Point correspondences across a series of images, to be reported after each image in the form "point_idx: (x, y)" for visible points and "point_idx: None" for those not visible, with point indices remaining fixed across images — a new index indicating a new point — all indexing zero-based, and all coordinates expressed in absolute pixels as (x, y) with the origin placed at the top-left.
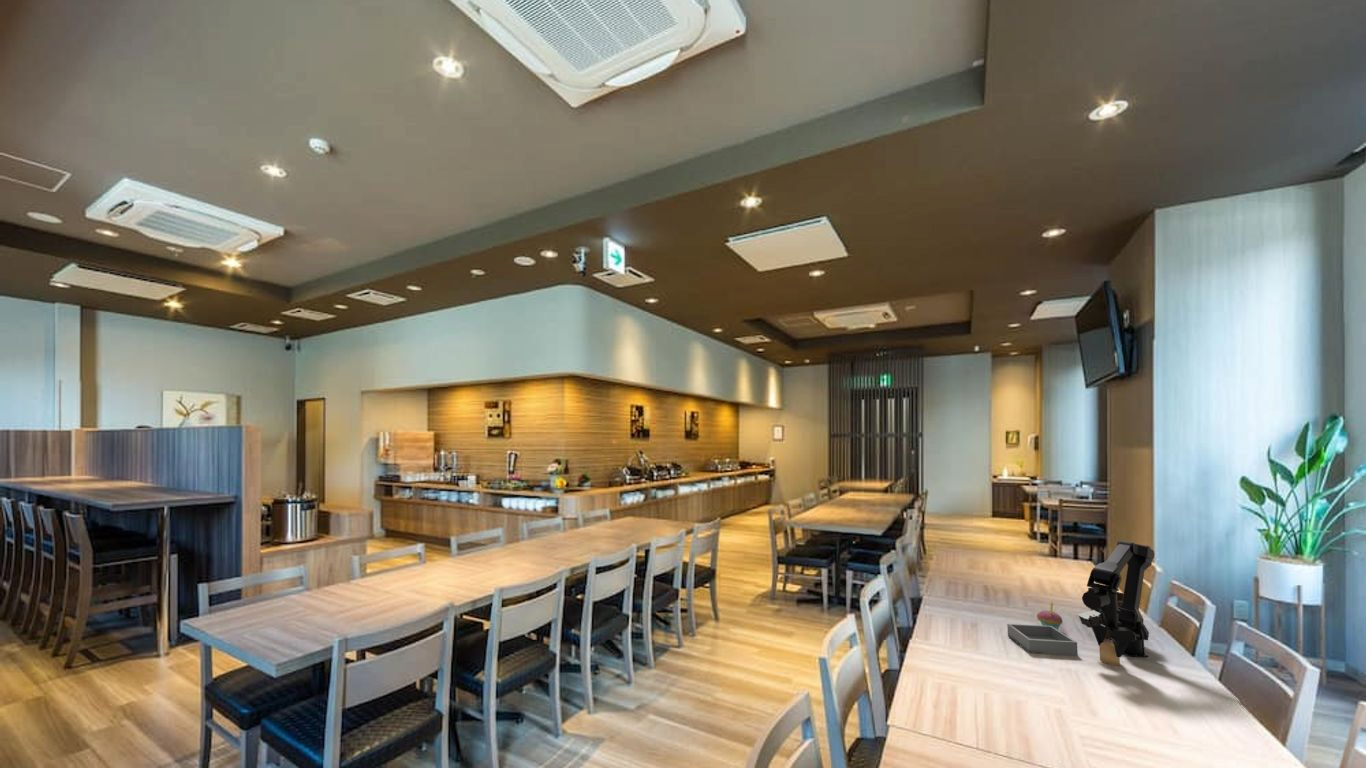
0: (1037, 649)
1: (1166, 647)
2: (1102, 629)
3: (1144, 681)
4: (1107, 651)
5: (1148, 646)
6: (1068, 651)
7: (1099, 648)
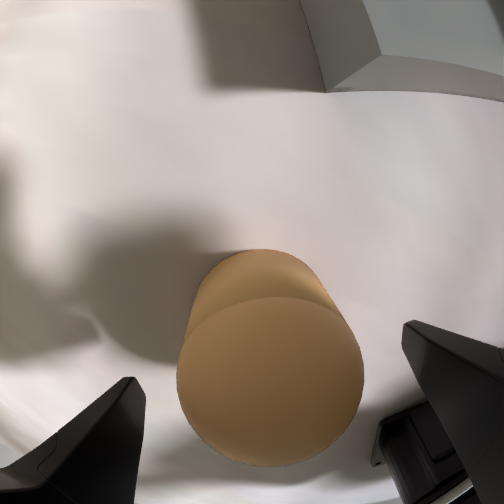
0: None
1: None
2: (494, 468)
3: (28, 361)
4: (184, 346)
5: None
6: (314, 10)
7: (296, 297)
